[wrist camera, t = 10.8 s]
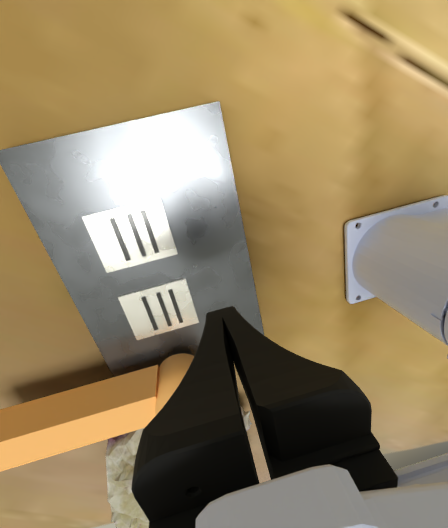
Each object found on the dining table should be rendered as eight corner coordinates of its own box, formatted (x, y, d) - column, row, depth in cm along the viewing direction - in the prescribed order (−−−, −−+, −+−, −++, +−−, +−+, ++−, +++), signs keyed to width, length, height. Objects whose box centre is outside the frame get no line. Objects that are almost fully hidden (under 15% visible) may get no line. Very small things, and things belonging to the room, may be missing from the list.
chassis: (215, 105, 17) (221, 98, 15) (261, 335, 24) (268, 351, 22) (9, 152, 16) (-15, 151, 14) (123, 376, 23) (119, 396, 21)
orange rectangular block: (197, 348, 21) (201, 382, 17) (207, 380, 22) (212, 418, 19) (-17, 408, 19) (-56, 458, 16) (9, 439, 21) (-22, 490, 18)
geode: (185, 332, 29) (90, 431, 29) (172, 363, 20) (30, 511, 19) (293, 435, 29) (201, 534, 29) (330, 514, 20) (195, 663, 20)
